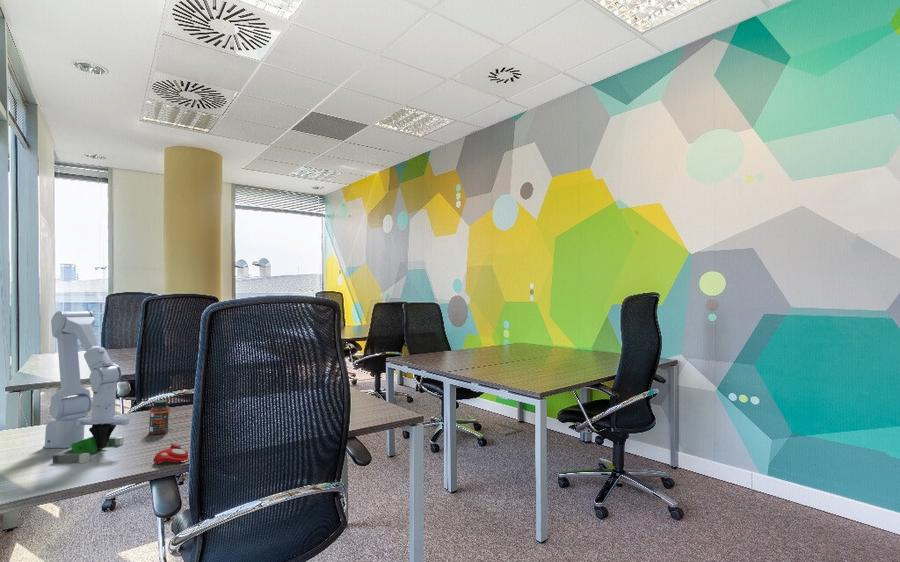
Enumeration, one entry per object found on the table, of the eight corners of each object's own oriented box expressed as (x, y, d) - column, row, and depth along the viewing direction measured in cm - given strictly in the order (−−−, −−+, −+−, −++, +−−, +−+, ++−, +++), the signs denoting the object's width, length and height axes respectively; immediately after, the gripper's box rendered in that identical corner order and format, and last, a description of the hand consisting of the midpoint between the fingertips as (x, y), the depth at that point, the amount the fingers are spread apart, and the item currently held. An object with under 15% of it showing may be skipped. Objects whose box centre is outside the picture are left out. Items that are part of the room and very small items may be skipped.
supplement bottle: (150, 436, 156) (152, 403, 157) (147, 432, 160) (148, 400, 161) (170, 432, 160) (171, 401, 161) (166, 428, 165) (168, 398, 165)
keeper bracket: (52, 463, 130) (52, 455, 130) (94, 443, 147) (95, 436, 147) (84, 462, 130) (85, 455, 131) (123, 443, 148) (123, 436, 148)
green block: (85, 455, 134) (81, 440, 134) (74, 458, 134) (70, 443, 134) (116, 443, 145) (112, 429, 145) (106, 446, 145) (102, 432, 146)
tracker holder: (199, 455, 136) (165, 457, 127) (193, 470, 135) (159, 472, 127) (181, 439, 142) (148, 439, 134) (175, 452, 142) (142, 453, 134)
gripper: (69, 407, 135) (67, 452, 135) (119, 407, 136) (117, 452, 136) (87, 402, 142) (84, 444, 142) (134, 402, 143) (132, 444, 143)
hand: (101, 448), depth 139 cm, fingers closed
